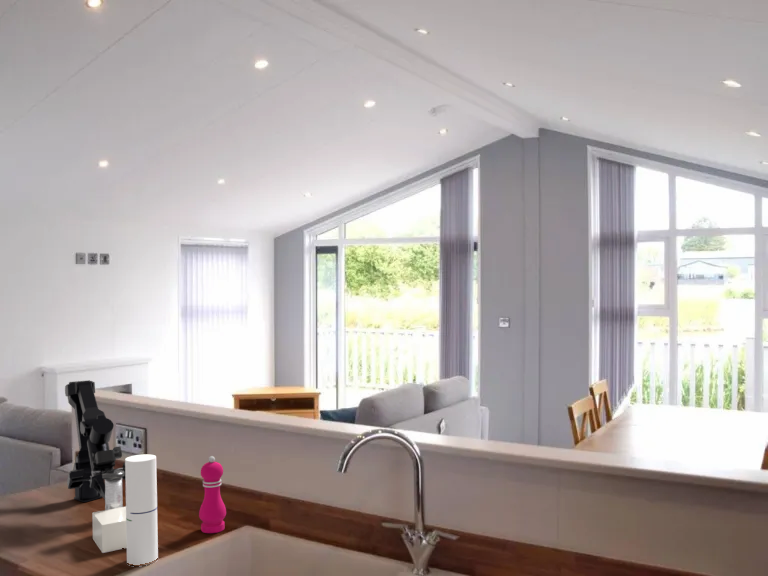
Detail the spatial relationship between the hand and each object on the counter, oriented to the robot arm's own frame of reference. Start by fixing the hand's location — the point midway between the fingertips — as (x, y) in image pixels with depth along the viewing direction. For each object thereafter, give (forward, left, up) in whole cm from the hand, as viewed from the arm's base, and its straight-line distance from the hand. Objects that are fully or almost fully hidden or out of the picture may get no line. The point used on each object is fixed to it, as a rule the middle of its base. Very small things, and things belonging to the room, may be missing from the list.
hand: (108, 501), depth 197 cm
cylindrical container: (+10, +31, -7) cm, 33 cm away
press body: (+5, +14, -7) cm, 17 cm away
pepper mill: (-14, +28, -7) cm, 32 cm away
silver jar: (+4, +10, -7) cm, 13 cm away
